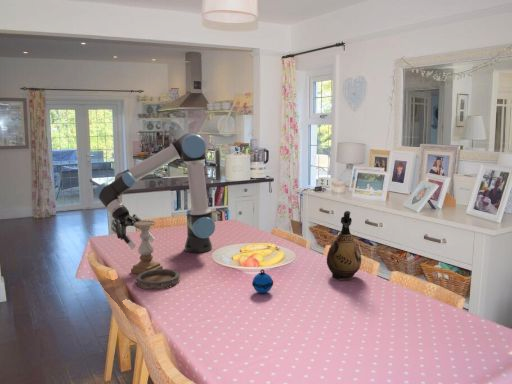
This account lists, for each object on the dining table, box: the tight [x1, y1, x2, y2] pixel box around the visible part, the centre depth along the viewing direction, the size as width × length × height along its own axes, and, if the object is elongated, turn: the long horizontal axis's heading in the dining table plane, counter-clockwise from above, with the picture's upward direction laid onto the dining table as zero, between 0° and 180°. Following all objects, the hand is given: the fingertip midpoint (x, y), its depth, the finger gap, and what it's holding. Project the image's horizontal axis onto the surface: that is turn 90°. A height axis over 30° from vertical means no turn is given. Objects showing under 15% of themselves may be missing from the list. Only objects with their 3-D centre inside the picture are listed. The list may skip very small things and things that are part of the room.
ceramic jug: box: [326, 210, 362, 281], centre depth 211 cm, size 17×15×30 cm
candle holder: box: [130, 220, 164, 275], centre depth 224 cm, size 11×11×24 cm
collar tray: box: [136, 268, 181, 290], centre depth 210 cm, size 19×19×3 cm
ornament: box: [251, 269, 274, 294], centre depth 195 cm, size 9×9×10 cm
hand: (143, 244), depth 223 cm, fingers open, 13 cm apart
